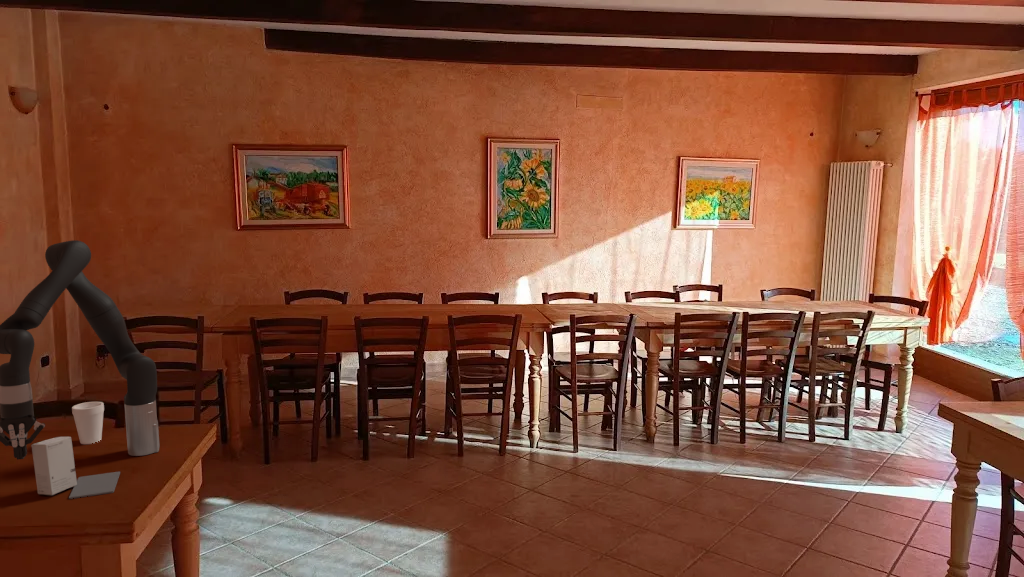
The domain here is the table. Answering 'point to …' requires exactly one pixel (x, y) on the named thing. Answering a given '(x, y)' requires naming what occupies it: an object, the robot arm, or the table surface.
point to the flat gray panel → (95, 485)
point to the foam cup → (89, 421)
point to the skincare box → (54, 465)
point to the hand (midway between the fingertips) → (20, 458)
